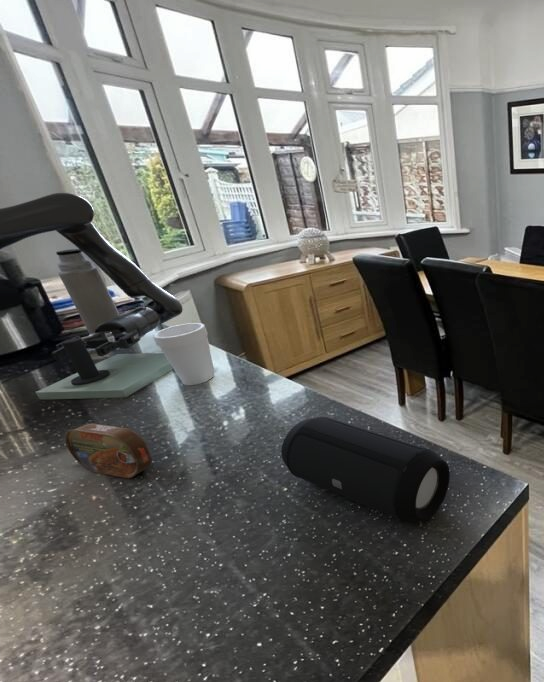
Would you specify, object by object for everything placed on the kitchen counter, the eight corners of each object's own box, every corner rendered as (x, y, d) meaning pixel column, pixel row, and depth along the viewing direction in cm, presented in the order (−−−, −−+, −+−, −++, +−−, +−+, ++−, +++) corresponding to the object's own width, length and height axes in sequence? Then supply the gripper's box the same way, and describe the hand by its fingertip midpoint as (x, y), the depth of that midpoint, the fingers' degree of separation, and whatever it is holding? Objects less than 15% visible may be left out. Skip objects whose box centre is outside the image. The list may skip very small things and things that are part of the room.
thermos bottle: (97, 341, 121) (50, 250, 110) (131, 334, 126) (89, 246, 114) (94, 349, 116) (44, 254, 104) (129, 341, 120) (85, 249, 109)
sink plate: (39, 399, 89) (35, 392, 89) (119, 360, 108) (116, 354, 107) (125, 397, 89) (122, 389, 88) (191, 358, 108) (189, 351, 107)
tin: (77, 469, 67) (52, 428, 64) (99, 457, 70) (76, 417, 67) (143, 482, 64) (121, 440, 60) (163, 469, 67) (143, 428, 63)
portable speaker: (285, 487, 62) (267, 435, 58) (335, 449, 70) (323, 401, 66) (415, 545, 52) (404, 487, 47) (456, 493, 60) (450, 439, 56)
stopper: (67, 392, 92) (41, 346, 87) (95, 379, 98) (71, 335, 93) (95, 392, 92) (70, 345, 87) (121, 378, 98) (99, 334, 93)
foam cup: (167, 391, 91) (144, 340, 86) (185, 373, 99) (165, 325, 94) (214, 384, 93) (194, 334, 88) (227, 367, 102) (210, 320, 96)
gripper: (87, 319, 103) (32, 343, 88) (149, 313, 105) (105, 336, 91) (100, 345, 106) (48, 372, 91) (160, 339, 108) (119, 365, 94)
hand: (77, 354), depth 91 cm, fingers open, 8 cm apart
